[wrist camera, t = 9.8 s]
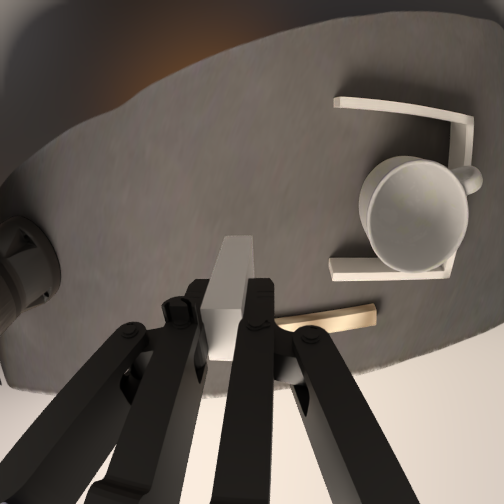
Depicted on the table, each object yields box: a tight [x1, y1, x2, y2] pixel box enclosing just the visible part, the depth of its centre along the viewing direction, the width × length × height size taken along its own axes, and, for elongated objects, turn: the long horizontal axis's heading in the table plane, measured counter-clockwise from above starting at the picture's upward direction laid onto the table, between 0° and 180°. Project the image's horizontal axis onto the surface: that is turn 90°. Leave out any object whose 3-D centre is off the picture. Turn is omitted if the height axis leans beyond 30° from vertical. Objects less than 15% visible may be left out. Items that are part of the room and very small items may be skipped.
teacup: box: [359, 156, 483, 273], centre depth 27 cm, size 14×11×8 cm
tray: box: [329, 97, 474, 281], centre depth 29 cm, size 15×19×4 cm
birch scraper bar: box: [274, 303, 376, 333], centre depth 39 cm, size 23×2×2 cm, turn 103°
